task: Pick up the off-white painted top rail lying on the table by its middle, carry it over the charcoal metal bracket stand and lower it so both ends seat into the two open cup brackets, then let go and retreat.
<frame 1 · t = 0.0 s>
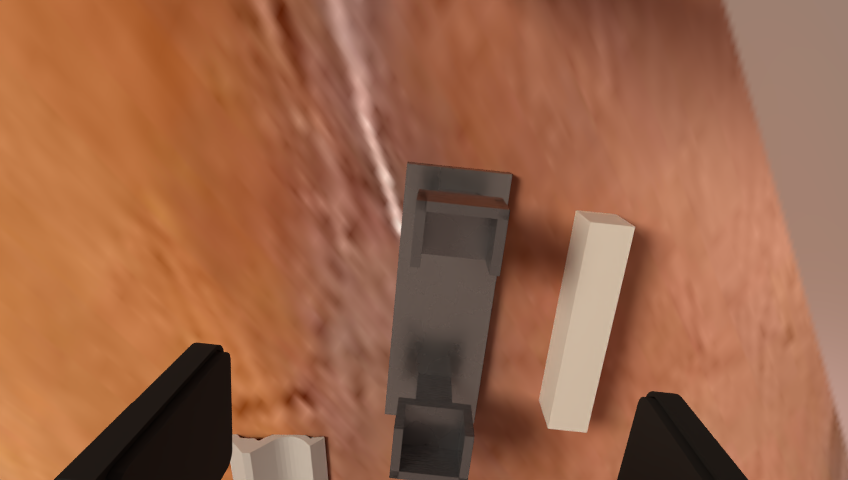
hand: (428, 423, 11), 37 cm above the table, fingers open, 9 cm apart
rail: (574, 312, 50), on the table
bracket stand: (443, 299, 50), on the table
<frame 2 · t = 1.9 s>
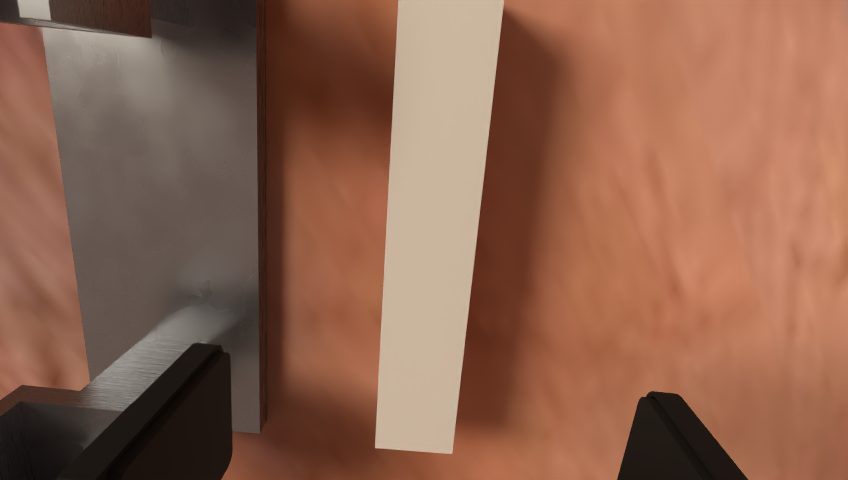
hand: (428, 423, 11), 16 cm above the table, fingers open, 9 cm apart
rail: (431, 220, 26), on the table
bracket stand: (173, 195, 25), on the table
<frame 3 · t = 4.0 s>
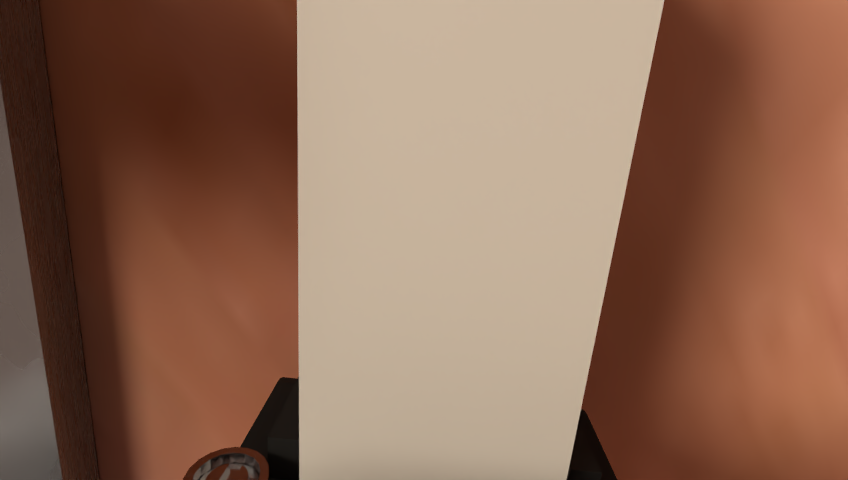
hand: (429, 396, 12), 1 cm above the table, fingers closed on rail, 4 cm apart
rail: (430, 378, 12), on the table, touching gripper
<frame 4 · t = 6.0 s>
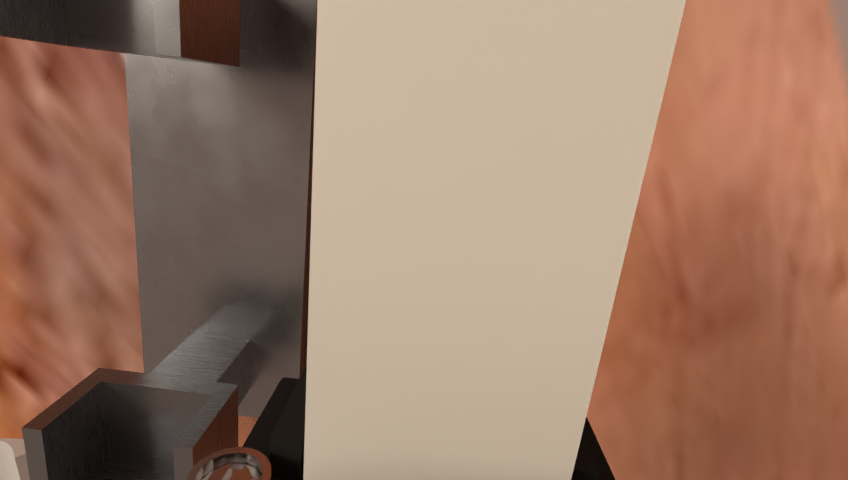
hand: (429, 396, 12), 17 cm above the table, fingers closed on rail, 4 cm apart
rail: (431, 377, 12), point 16 cm above the table, touching gripper
bracket stand: (229, 201, 28), on the table
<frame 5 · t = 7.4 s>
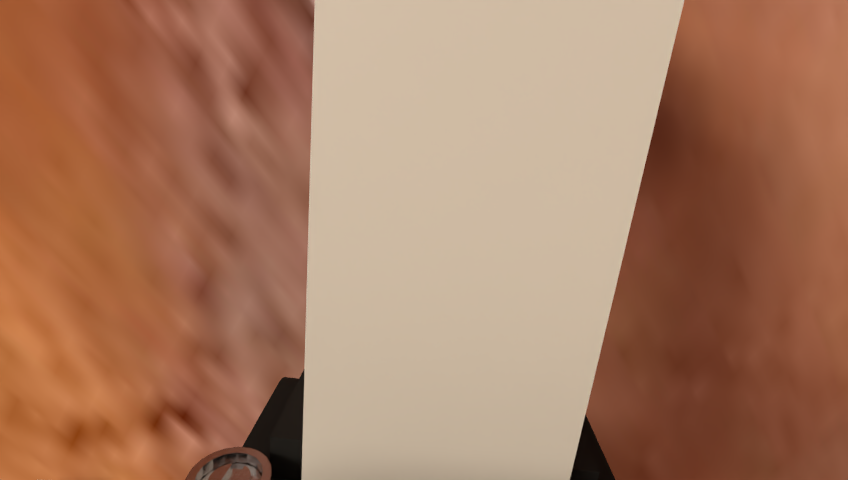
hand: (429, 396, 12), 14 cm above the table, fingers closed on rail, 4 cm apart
rail: (430, 378, 12), point 14 cm above the table, touching gripper
when the fingers open (10 cm above the table, at t = 8.4 s): rail drops 1 cm, resting on bracket stand.
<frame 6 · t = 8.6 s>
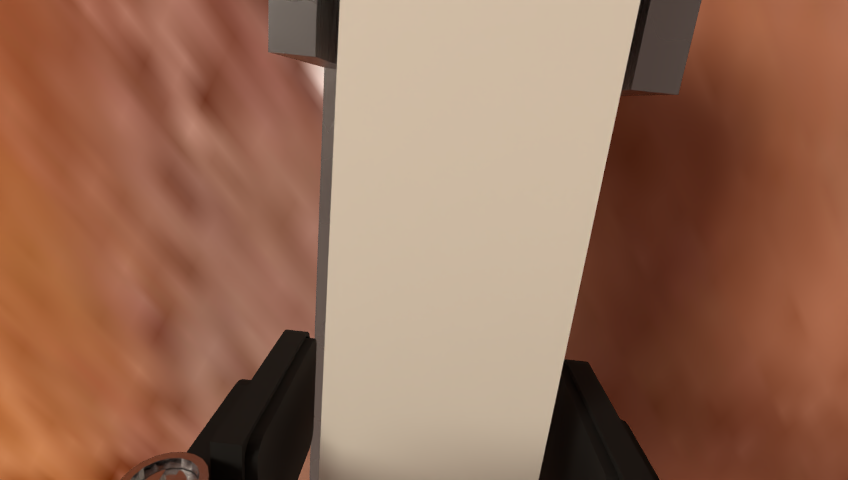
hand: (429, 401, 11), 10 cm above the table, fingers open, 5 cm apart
rail: (431, 351, 13), point 8 cm above the table, touching bracket stand
bracket stand: (434, 262, 21), on the table
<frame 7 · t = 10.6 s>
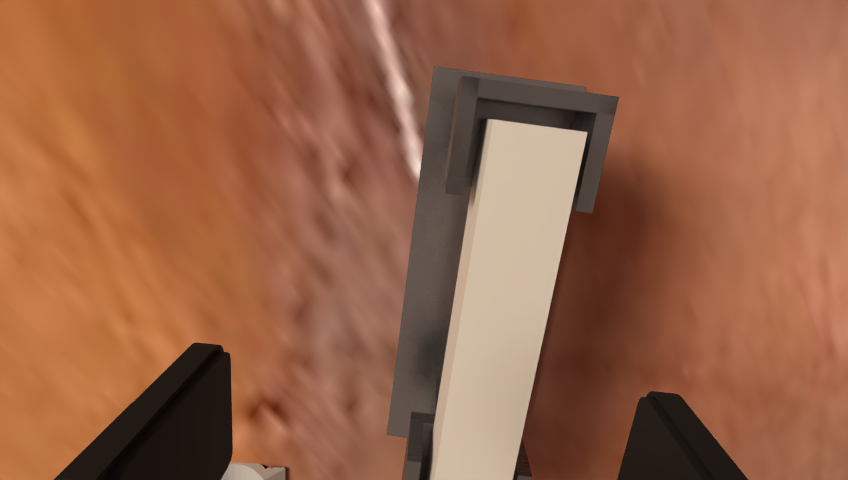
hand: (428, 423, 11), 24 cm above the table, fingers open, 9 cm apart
rail: (485, 316, 27), point 8 cm above the table, touching bracket stand
bracket stand: (475, 273, 35), on the table
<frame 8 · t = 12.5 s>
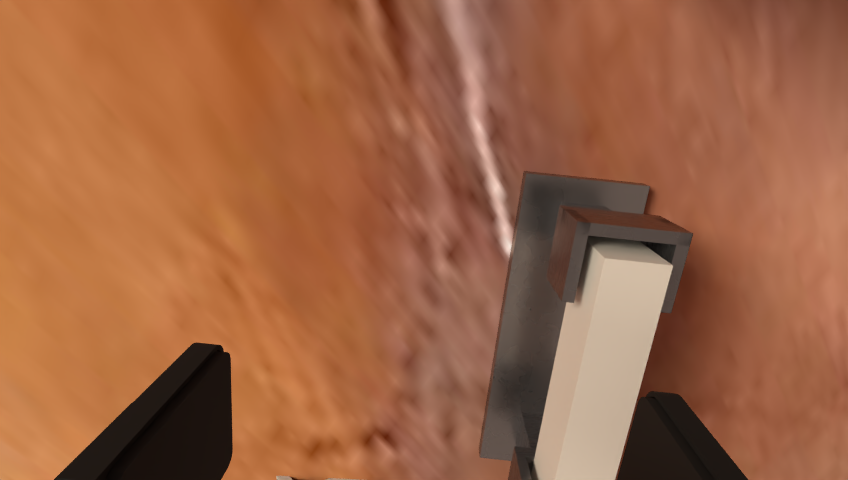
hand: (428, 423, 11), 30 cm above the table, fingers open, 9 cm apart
rail: (578, 376, 35), point 8 cm above the table, touching bracket stand
bracket stand: (553, 328, 43), on the table
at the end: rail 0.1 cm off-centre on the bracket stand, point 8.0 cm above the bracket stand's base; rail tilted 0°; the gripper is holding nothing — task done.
